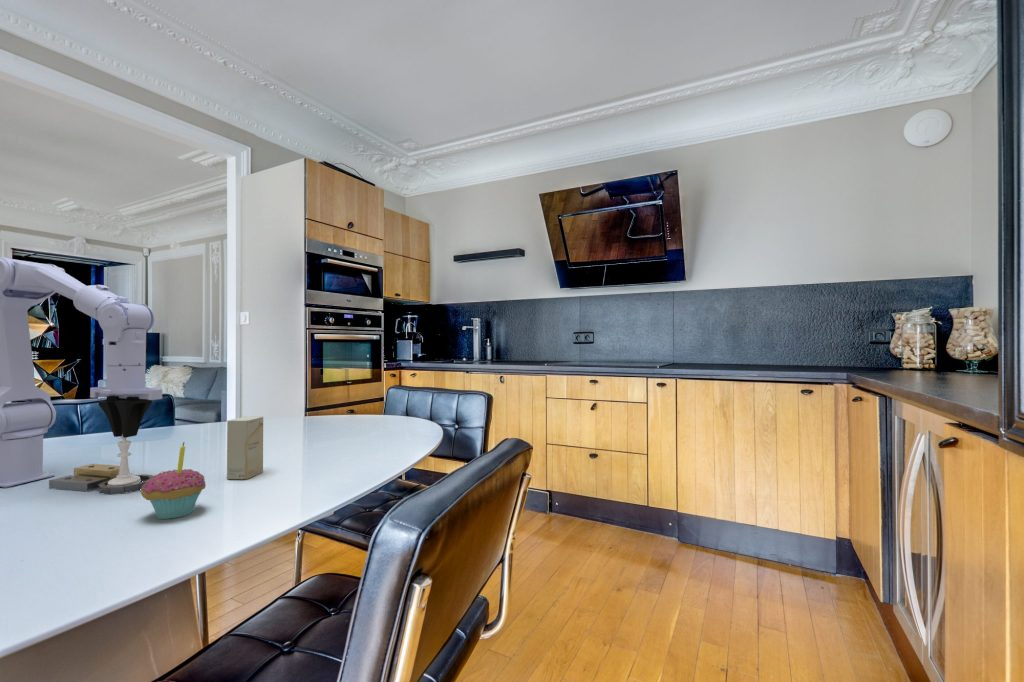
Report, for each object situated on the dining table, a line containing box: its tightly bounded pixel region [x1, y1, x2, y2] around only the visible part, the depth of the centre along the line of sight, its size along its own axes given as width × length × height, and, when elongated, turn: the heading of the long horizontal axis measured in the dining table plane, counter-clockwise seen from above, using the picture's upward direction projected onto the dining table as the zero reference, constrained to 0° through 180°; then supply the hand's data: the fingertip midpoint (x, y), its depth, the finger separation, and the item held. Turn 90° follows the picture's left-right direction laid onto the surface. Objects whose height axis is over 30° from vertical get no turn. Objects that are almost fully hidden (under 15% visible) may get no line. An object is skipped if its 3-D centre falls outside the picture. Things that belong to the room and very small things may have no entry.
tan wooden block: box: [73, 463, 120, 480], centre depth 91 cm, size 9×4×2 cm, turn 79°
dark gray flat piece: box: [48, 474, 155, 495], centre depth 88 cm, size 18×8×2 cm, turn 79°
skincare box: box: [226, 415, 264, 480], centre depth 96 cm, size 6×4×12 cm
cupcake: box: [140, 441, 207, 520], centre depth 74 cm, size 9×8×12 cm
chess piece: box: [107, 434, 141, 486], centre depth 87 cm, size 5×5×10 cm
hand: (125, 436), depth 87 cm, fingers closed
